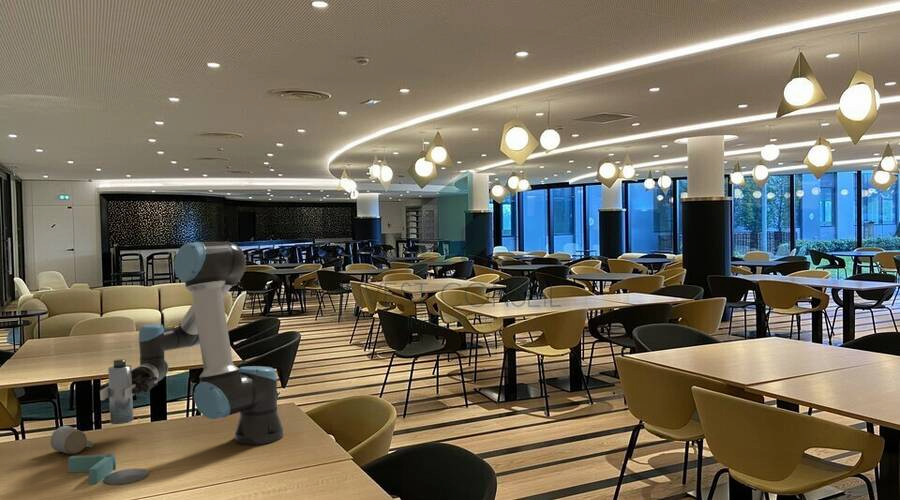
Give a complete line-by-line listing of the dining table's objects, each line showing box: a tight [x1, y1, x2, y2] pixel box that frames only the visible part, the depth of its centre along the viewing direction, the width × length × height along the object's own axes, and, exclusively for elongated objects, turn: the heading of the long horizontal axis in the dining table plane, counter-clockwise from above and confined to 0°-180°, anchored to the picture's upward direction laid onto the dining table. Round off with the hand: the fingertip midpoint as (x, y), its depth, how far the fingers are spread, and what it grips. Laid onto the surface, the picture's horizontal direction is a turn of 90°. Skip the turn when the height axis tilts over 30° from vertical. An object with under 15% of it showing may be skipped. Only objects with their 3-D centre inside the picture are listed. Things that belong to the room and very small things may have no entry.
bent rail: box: [67, 453, 117, 485], centre depth 181 cm, size 12×12×4 cm
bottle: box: [107, 358, 134, 425], centre depth 192 cm, size 6×6×18 cm
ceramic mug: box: [50, 425, 94, 455], centre depth 203 cm, size 11×8×8 cm
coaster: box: [103, 467, 149, 486], centre depth 180 cm, size 11×11×1 cm
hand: (114, 394), depth 187 cm, fingers closed on bottle, 6 cm apart
